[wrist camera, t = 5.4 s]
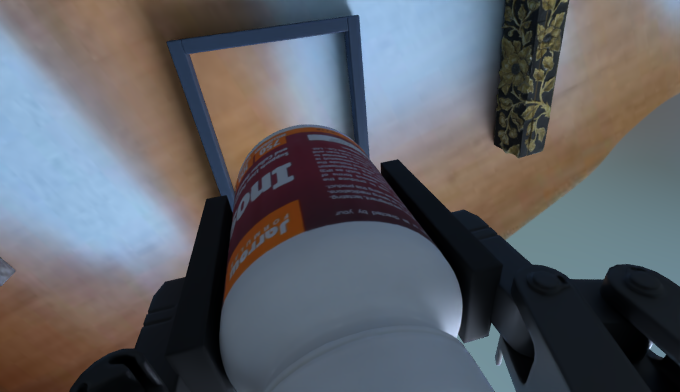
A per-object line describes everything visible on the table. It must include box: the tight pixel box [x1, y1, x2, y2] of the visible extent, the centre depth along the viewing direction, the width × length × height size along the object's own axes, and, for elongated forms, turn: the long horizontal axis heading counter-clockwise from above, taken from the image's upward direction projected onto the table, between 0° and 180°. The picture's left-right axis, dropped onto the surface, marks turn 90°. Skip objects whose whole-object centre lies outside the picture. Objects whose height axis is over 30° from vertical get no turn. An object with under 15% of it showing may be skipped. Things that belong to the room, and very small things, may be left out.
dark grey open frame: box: [166, 15, 370, 212], centre depth 23 cm, size 14×12×1 cm
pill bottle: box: [219, 125, 495, 392], centre depth 10 cm, size 6×6×11 cm
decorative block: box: [494, 0, 569, 158], centre depth 23 cm, size 15×2×4 cm, turn 10°
